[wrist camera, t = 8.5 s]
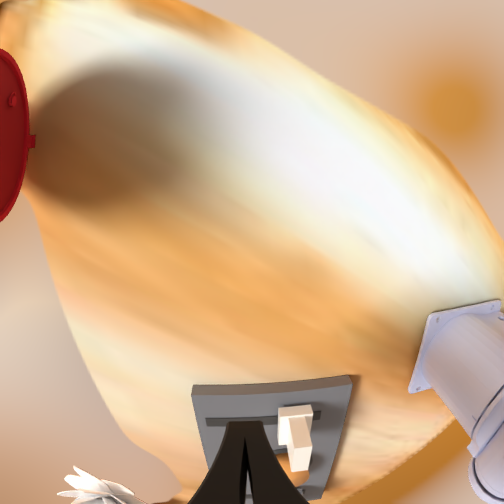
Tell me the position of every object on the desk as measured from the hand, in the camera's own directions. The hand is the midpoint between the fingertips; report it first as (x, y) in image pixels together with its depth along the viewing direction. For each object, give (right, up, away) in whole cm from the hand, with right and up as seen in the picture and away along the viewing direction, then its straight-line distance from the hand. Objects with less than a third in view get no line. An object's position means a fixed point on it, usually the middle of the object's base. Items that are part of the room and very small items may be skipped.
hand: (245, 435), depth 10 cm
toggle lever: (+3, -6, +10) cm, 12 cm away
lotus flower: (-19, -25, +16) cm, 35 cm away
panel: (+2, -12, +13) cm, 18 cm away
